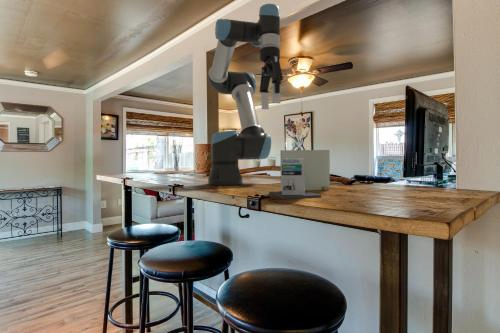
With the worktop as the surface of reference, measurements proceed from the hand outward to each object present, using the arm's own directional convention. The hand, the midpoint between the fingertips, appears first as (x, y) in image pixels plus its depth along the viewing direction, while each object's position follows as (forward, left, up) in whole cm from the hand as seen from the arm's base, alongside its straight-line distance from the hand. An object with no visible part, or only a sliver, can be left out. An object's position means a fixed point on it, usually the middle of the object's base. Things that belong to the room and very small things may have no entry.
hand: (270, 106), depth 109 cm
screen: (+11, +9, -31) cm, 34 cm away
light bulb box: (+22, 0, -30) cm, 37 cm away
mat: (+22, 0, -31) cm, 38 cm away
